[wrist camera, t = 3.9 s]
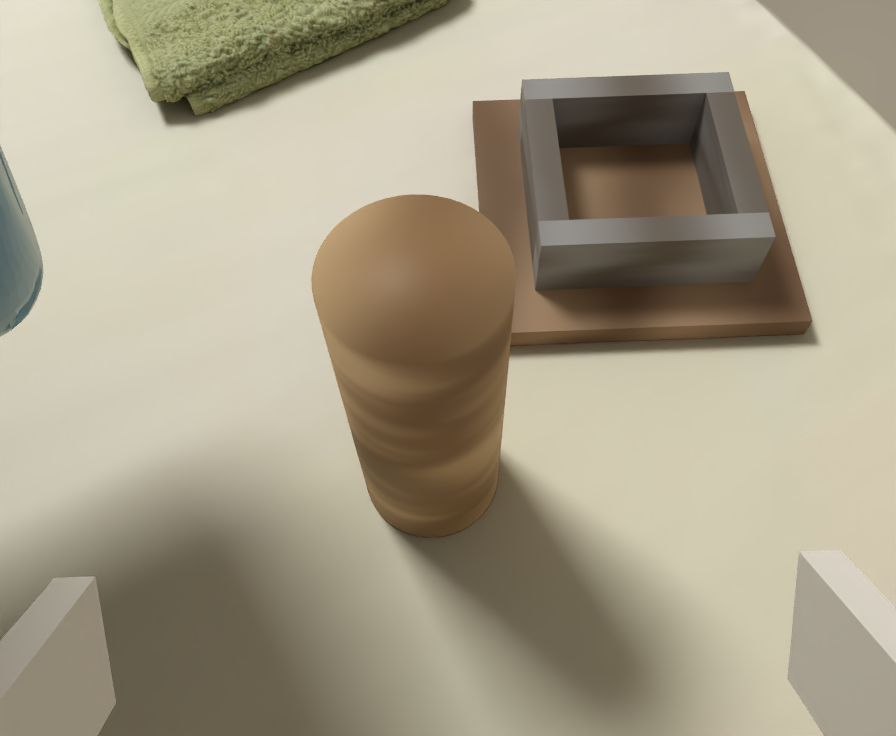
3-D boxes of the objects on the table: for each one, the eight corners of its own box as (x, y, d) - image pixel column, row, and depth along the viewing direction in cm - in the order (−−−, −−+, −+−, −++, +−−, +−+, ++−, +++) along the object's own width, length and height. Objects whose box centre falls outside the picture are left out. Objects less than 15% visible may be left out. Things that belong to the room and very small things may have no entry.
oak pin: (365, 540, 31) (307, 367, 19) (366, 417, 33) (315, 198, 22) (502, 534, 31) (524, 357, 19) (493, 411, 33) (508, 190, 22)
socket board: (488, 346, 35) (492, 291, 31) (472, 116, 41) (473, 49, 37) (803, 334, 35) (841, 277, 31) (738, 107, 41) (764, 39, 37)
